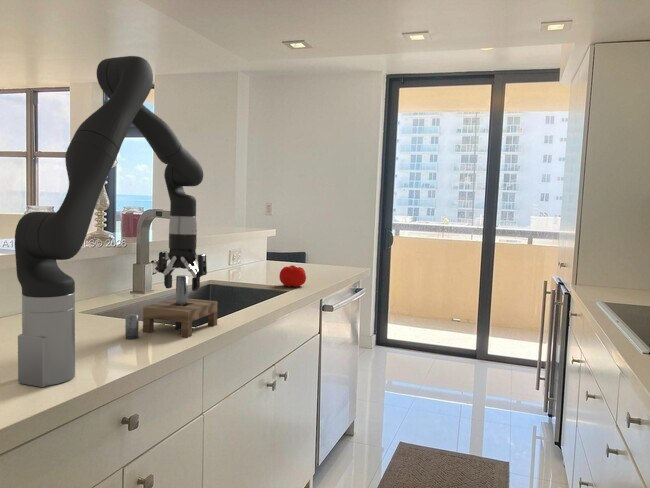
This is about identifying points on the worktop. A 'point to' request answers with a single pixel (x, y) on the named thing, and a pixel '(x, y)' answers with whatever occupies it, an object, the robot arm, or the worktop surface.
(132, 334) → the short pin
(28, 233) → the robot arm
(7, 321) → the worktop surface
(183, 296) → the long pin
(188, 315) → the wooden square-hole block
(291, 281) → the tomato
